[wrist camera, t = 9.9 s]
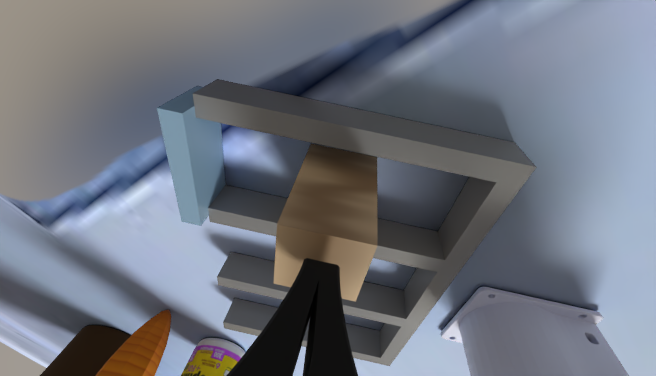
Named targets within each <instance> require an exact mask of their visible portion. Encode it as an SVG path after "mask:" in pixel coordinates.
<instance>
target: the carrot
mask: <svg viewBox="0 0 656 376" xmlns="http://www.w3.org/2000/svg"><path fill="white" fill-rule="evenodd" d="M170 323H171V313H170V310H164V311H162V312H160V313H159V314H157V315H156V316H154V317H153V318H151V319H150V320H149V321H147V322H146V323H145V324H144V325H143V326H141V327H140V328H139V329H138V330H137V331H135V332H134V333H133V334H132V335H131V336H130V337H129V338H128V339H127V340H126V341H125V342H124V343H123V345H122V346H121V347H120V348H119V349H118V350H117V351H116V352H115V353H114V354H113V355H112V356H111V357H110V359H109V360H108V361H107V362H106V363H105V364H104V365H103V367H102V368H101V369H100V371H99V372H98V373H97V374H96V376H154V375H155V373H156V371H157V368H158V366H159V363H160V361H161V358H162V355H163V353H164V350H165V347H166V345H167V341H168V336H169V332H170Z"/></svg>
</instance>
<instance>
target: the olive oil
mask: <svg viewBox="0 0 656 376" xmlns="http://www.w3.org/2000/svg"><path fill="white" fill-rule="evenodd" d="M129 337H130V335H128V334H126V333H124V332H121V331H119V330H116V329H113V328H110V327H105V326H100V325H89V326H86V327H84V328H83V329H82V330H81V331H80V332H79V333H78V334H77V335H76V336H75V337H74V338H73V340H72V341H71V342H70V343H69V344H68V345H67V346H66V347H65V348H64V350H63V351H62V352H61V353H60V354H59V355H58V356H57V357H56V358H55V360H54V361H53V362H52V363H51V364H50V365H49V366H48V367H47V368H46V370H45V371H44V372H43V373H42V374H41V375H40V376H96V374H97V373H98V372H99V371H100V369H101V368H102V367H103V365H104V364H105V363H106V362H107V361H108V360H109V359H110V357H111V356H112V355H113V354H114V353H115V352H116V351H117V350H118V349H119V348H120V347H121V346H122V345H123V343H124V342H125V341H126V340H127V339H128V338H129Z"/></svg>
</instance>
